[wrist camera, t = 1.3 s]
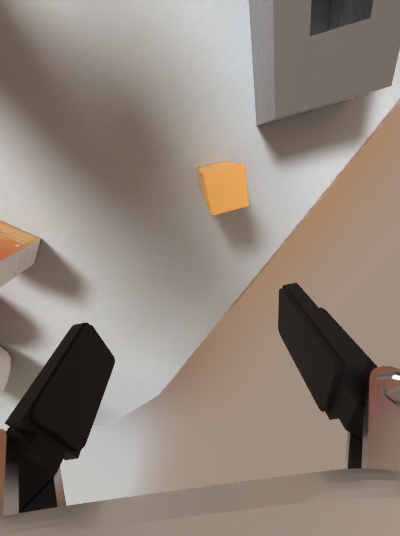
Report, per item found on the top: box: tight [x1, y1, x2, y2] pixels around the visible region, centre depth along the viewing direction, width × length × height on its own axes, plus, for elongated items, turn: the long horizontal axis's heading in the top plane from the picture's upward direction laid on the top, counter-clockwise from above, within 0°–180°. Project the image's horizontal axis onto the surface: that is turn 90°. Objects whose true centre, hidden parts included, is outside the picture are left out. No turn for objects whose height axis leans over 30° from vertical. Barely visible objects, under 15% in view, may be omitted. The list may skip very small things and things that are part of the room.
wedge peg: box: [197, 161, 249, 215], centre depth 24 cm, size 4×4×11 cm
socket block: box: [249, 0, 400, 126], centre depth 18 cm, size 16×12×6 cm
